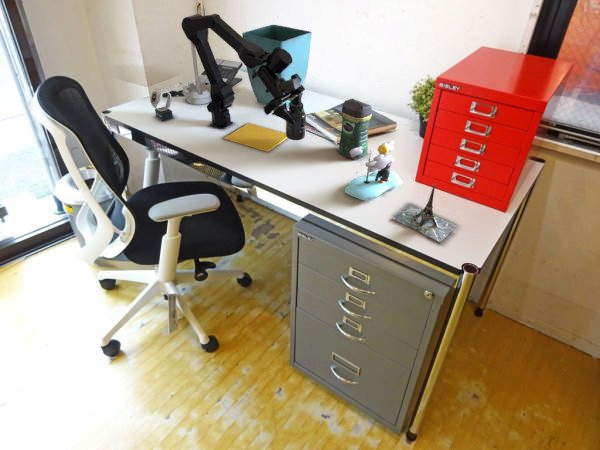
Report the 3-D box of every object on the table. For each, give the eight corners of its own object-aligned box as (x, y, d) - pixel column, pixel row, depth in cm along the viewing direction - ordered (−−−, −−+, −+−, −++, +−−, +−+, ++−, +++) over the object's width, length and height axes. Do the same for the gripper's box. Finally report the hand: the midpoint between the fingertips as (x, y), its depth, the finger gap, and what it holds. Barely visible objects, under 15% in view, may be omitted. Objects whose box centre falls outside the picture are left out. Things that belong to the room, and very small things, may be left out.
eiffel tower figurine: (390, 220, 122) (398, 179, 114) (409, 205, 128) (417, 165, 120) (439, 243, 114) (451, 201, 106) (457, 226, 120) (469, 185, 112)
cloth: (224, 138, 160) (224, 137, 160) (248, 124, 170) (248, 123, 170) (267, 152, 152) (267, 151, 152) (290, 135, 163) (290, 134, 162)
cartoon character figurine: (384, 171, 143) (390, 128, 134) (408, 185, 136) (417, 141, 127) (337, 190, 134) (340, 145, 124) (360, 206, 127) (366, 160, 118)
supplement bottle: (306, 140, 153) (307, 107, 146) (286, 141, 152) (286, 108, 145) (303, 132, 158) (305, 99, 151) (285, 132, 158) (285, 100, 150)
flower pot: (274, 90, 199) (273, 23, 182) (310, 100, 190) (312, 31, 173) (245, 103, 186) (240, 32, 169) (282, 115, 177) (281, 41, 160)
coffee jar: (370, 154, 152) (377, 103, 141) (355, 162, 148) (360, 109, 136) (350, 145, 157) (354, 94, 146) (334, 151, 153) (338, 100, 142)
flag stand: (182, 95, 193) (171, 21, 174) (212, 92, 196) (204, 20, 178) (185, 106, 183) (174, 29, 165) (217, 103, 186) (209, 28, 168)
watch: (151, 118, 173) (146, 90, 166) (170, 112, 178) (165, 85, 171) (158, 122, 170) (153, 94, 163) (177, 117, 174) (172, 89, 168)
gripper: (270, 75, 136) (300, 117, 139) (301, 60, 149) (327, 99, 151) (250, 95, 144) (279, 134, 146) (281, 78, 157) (307, 115, 159)
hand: (299, 119), depth 151 cm, fingers closed on supplement bottle, 7 cm apart
